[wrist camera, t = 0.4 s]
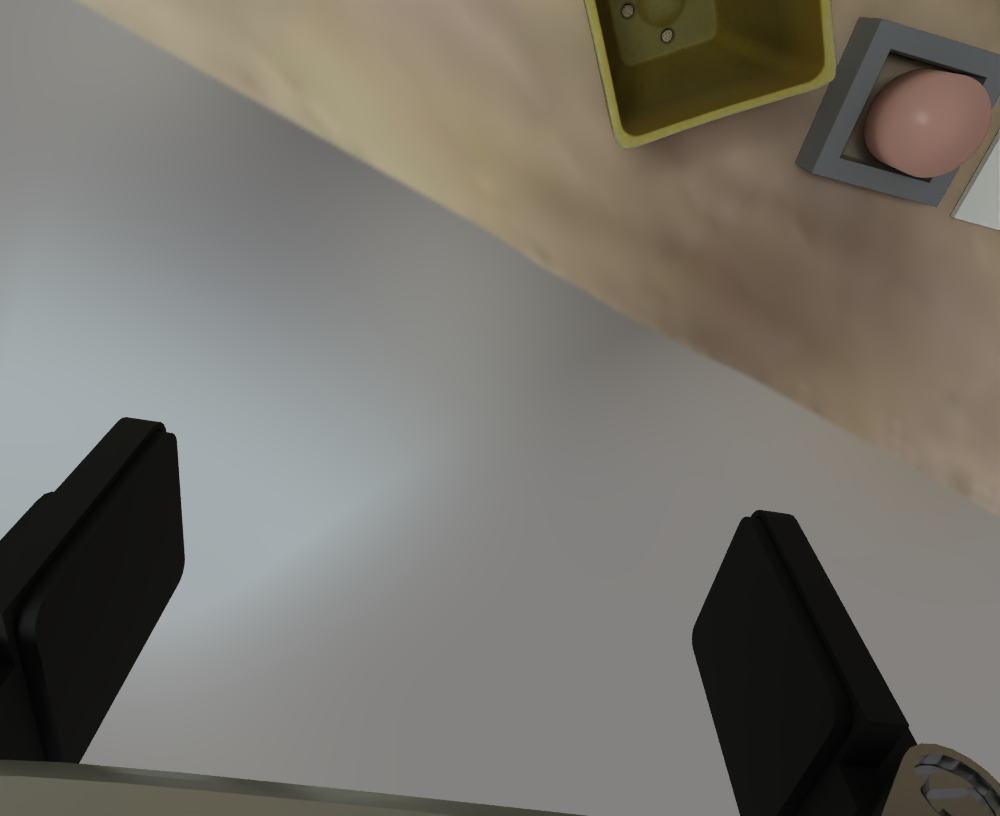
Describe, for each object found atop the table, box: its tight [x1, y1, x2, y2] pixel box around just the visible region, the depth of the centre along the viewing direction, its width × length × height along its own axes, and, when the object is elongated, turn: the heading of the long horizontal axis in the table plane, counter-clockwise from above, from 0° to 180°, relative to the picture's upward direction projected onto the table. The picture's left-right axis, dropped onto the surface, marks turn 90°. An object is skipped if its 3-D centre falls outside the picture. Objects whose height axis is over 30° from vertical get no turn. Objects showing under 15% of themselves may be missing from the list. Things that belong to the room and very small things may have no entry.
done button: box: [864, 69, 991, 178], centre depth 33 cm, size 4×4×3 cm
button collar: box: [795, 17, 1000, 207], centre depth 35 cm, size 7×7×2 cm
